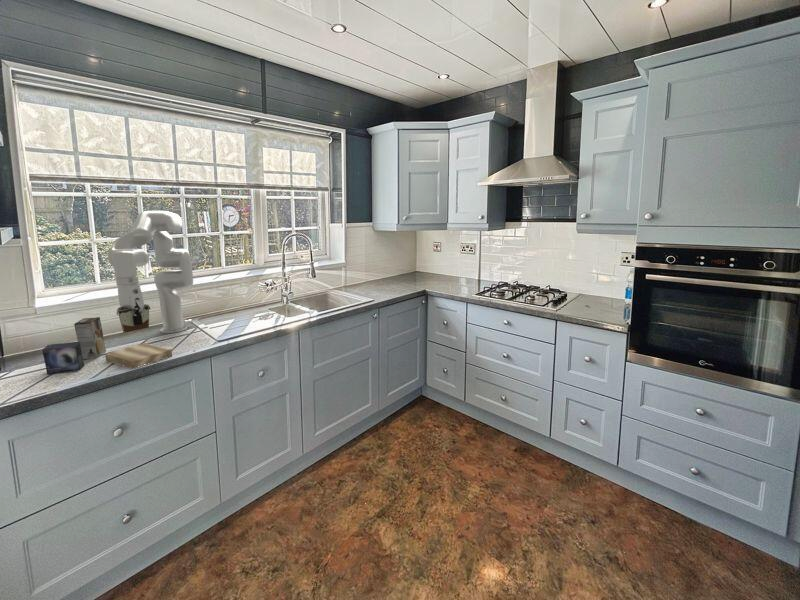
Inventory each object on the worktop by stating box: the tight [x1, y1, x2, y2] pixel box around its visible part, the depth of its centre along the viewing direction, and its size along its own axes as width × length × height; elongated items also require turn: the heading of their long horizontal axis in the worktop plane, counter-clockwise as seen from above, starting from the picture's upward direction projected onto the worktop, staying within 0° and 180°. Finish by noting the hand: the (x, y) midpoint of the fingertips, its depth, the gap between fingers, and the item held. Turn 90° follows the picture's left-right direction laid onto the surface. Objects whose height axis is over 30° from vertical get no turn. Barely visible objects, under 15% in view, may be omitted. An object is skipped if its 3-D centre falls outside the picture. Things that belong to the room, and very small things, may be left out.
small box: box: [41, 341, 85, 375], centre depth 158 cm, size 11×6×10 cm, turn 114°
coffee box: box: [73, 316, 107, 360], centre depth 173 cm, size 9×6×16 cm
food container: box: [116, 303, 151, 334], centre depth 167 cm, size 12×6×10 cm, turn 143°
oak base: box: [105, 342, 173, 369], centre depth 171 cm, size 16×20×3 cm
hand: (134, 323), depth 168 cm, fingers closed on food container, 5 cm apart
